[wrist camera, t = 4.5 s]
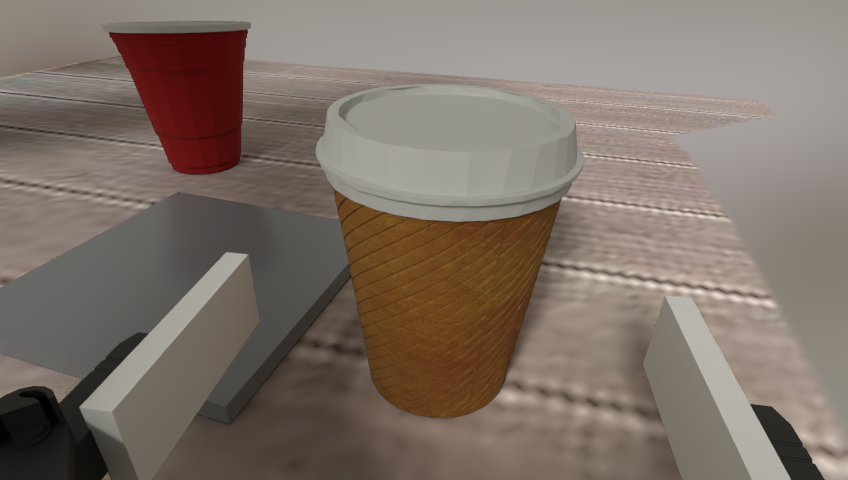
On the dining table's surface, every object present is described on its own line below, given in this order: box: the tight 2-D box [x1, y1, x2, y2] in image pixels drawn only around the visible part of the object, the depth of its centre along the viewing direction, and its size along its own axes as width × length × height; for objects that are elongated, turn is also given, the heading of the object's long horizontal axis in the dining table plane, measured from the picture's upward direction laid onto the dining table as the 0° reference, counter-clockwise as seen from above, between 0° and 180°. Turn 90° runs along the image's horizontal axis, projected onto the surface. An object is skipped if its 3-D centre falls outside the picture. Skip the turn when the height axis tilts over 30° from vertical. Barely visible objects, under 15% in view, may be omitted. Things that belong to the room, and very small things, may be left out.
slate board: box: [0, 192, 351, 424], centre depth 29 cm, size 16×16×1 cm
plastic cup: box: [102, 21, 251, 174], centre depth 42 cm, size 11×11×12 cm
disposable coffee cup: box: [315, 84, 584, 418], centre depth 21 cm, size 10×10×12 cm
